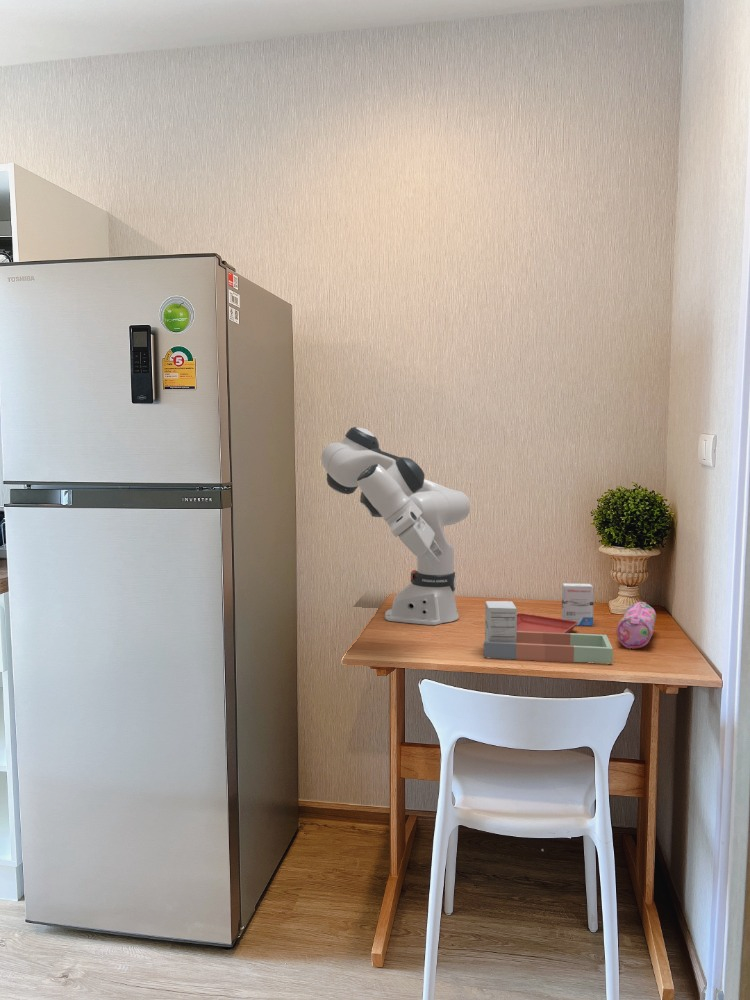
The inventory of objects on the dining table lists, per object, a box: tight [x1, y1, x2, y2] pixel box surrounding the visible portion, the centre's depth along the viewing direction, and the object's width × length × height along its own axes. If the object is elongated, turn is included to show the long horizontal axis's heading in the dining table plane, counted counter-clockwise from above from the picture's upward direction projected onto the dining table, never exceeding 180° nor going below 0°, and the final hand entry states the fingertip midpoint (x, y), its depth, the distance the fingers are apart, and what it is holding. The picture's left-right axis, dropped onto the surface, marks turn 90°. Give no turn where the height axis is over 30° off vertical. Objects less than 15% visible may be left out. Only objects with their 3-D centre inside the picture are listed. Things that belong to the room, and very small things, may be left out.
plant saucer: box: [517, 612, 578, 633], centre depth 210 cm, size 18×18×3 cm
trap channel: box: [483, 631, 614, 664], centre depth 192 cm, size 31×12×4 cm, turn 80°
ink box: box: [561, 582, 595, 627], centre depth 221 cm, size 8×5×12 cm, turn 84°
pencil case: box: [616, 601, 657, 650], centre depth 204 cm, size 21×9×9 cm, turn 155°
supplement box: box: [484, 600, 518, 643], centre depth 194 cm, size 7×7×13 cm
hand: (439, 559), depth 194 cm, fingers open, 8 cm apart
